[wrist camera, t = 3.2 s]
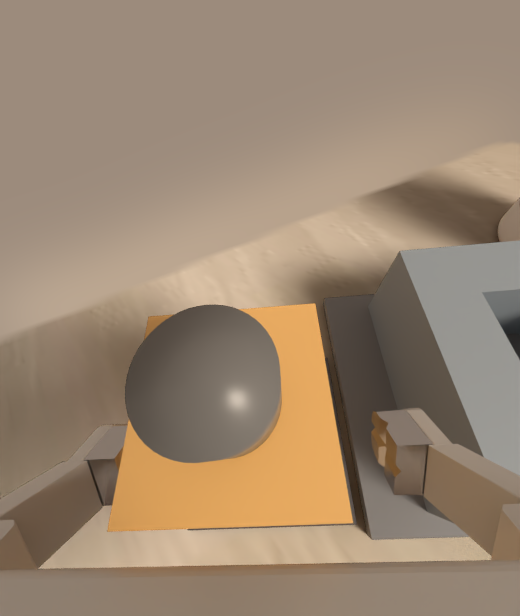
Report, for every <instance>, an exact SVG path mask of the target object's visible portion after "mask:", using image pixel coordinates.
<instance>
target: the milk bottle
mask: <svg viewBox="0 0 520 616" xmlns="http://www.w3.org/2000/svg"><path fill="white" fill-rule="evenodd" d="M497 235H498V238H499V241H500V242H507V241H518V240H520V198H519V199H518V200H517V201H516V202H515V203H514V204H513V206H512V207H511V208H510V209H509V210H508V211H507V212H506V214H505V215H504V216H503V217H502V218H501V220H500V222H499V226H498V234H497Z"/></svg>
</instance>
